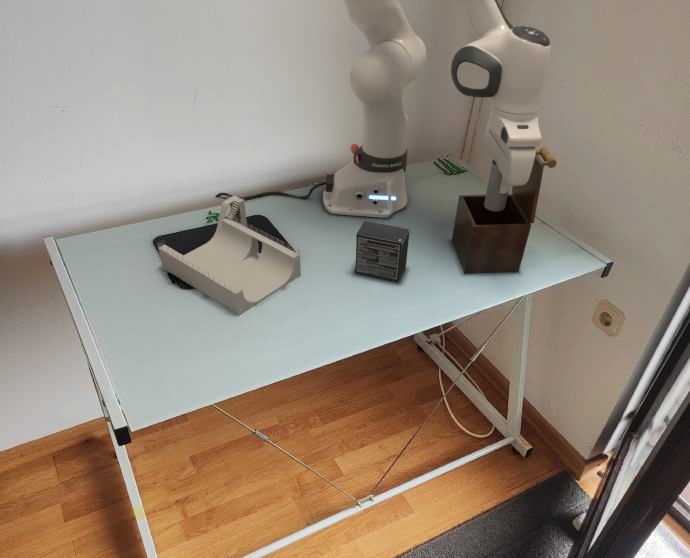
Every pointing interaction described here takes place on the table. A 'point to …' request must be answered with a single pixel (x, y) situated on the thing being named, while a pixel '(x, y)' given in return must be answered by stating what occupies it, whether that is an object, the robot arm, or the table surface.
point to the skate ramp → (234, 262)
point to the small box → (381, 251)
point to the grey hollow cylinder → (495, 191)
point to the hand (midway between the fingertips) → (498, 185)
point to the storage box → (489, 236)
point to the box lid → (533, 184)
